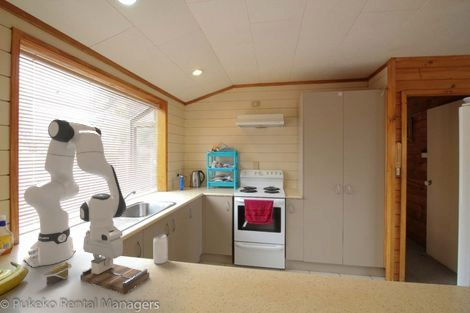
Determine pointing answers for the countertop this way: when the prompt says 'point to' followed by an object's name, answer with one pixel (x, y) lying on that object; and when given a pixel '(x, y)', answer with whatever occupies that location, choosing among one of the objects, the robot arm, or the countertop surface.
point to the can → (160, 249)
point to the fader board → (116, 278)
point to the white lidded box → (100, 265)
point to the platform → (57, 273)
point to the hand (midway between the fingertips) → (102, 264)
